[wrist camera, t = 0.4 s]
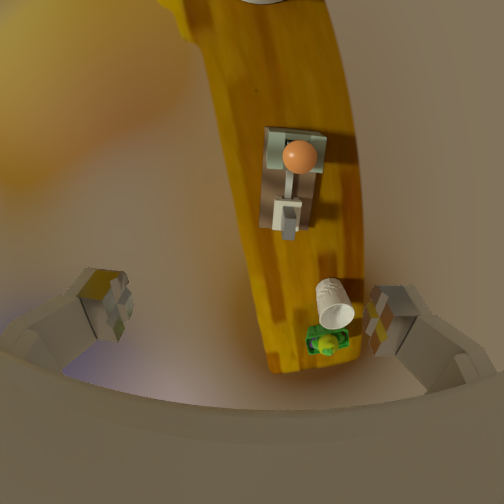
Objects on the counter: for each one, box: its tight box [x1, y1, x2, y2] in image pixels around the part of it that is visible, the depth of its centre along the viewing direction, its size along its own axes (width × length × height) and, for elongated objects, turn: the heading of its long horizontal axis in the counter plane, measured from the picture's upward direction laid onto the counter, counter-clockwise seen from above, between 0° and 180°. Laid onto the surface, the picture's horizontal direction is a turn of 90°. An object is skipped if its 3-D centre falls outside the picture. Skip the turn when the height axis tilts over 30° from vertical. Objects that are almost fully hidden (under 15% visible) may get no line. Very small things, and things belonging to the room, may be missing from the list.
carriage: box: [272, 196, 302, 240], centre depth 50 cm, size 6×5×8 cm
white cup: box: [316, 278, 355, 329], centre depth 61 cm, size 8×8×10 cm
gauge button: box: [282, 140, 317, 174], centre depth 40 cm, size 5×5×4 cm
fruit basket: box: [305, 324, 349, 356], centre depth 68 cm, size 11×9×11 cm
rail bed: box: [259, 126, 327, 230], centre depth 48 cm, size 20×10×8 cm, turn 177°
